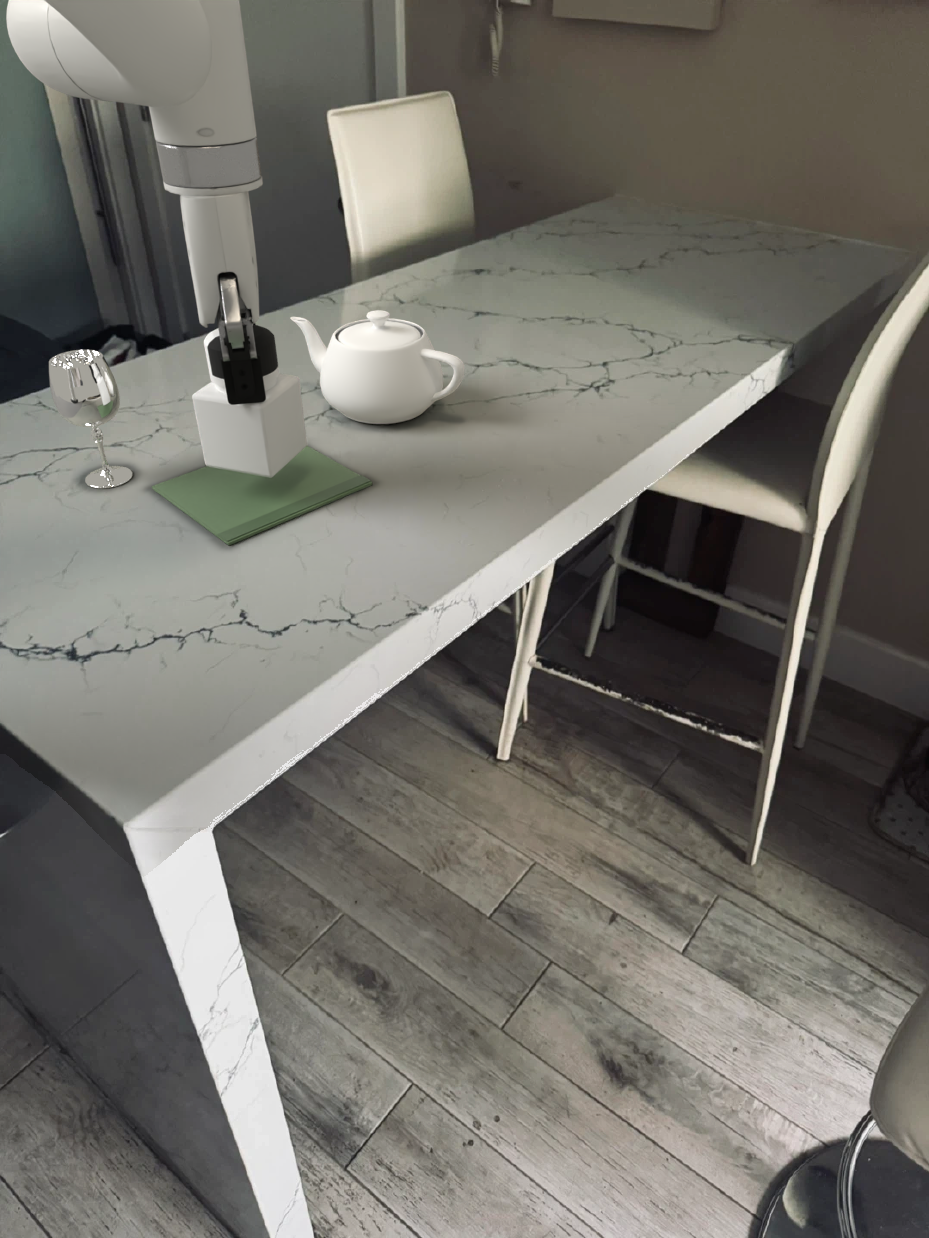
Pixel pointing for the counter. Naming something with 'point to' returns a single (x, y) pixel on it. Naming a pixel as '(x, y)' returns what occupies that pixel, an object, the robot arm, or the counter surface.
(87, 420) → the wineglass
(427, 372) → the teapot
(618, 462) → the counter surface
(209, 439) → the medicine bottle
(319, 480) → the napkin
